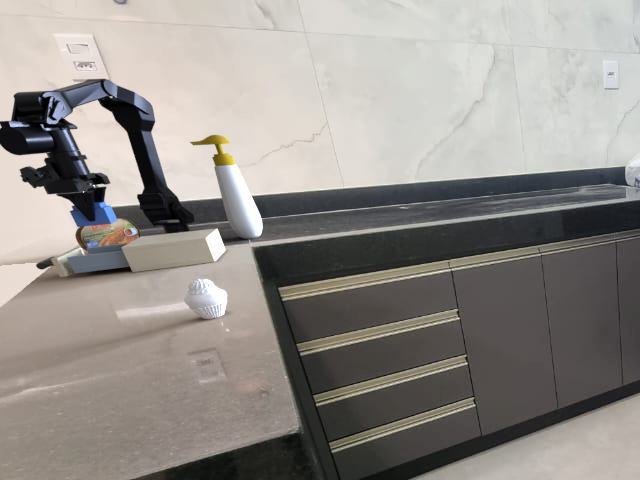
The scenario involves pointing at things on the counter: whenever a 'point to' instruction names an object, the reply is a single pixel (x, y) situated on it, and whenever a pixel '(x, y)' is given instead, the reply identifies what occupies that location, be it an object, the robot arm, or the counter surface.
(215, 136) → the soap bottle
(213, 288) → the muffin
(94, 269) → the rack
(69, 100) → the robot arm
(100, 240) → the tin
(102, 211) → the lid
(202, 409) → the counter surface
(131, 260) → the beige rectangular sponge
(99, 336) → the counter surface
